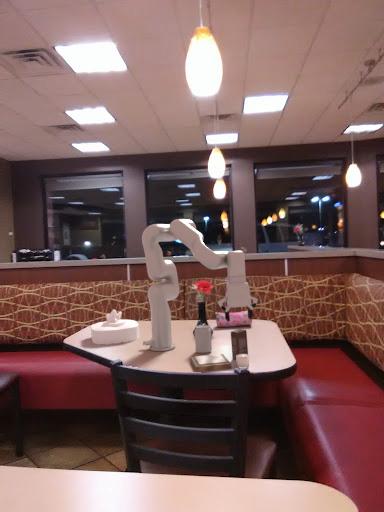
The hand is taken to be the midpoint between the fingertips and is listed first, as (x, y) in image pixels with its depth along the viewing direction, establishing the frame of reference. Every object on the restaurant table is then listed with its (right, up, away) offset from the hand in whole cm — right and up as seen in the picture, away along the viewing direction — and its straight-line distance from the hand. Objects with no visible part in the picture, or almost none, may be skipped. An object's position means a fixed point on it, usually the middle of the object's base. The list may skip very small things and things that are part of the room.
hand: (239, 319), depth 170 cm
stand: (-13, -18, -6) cm, 22 cm away
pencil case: (+5, -14, +65) cm, 67 cm away
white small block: (0, -17, -10) cm, 20 cm away
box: (0, -17, +1) cm, 17 cm away
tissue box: (-62, -18, +50) cm, 82 cm away
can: (-15, -17, +14) cm, 26 cm away
